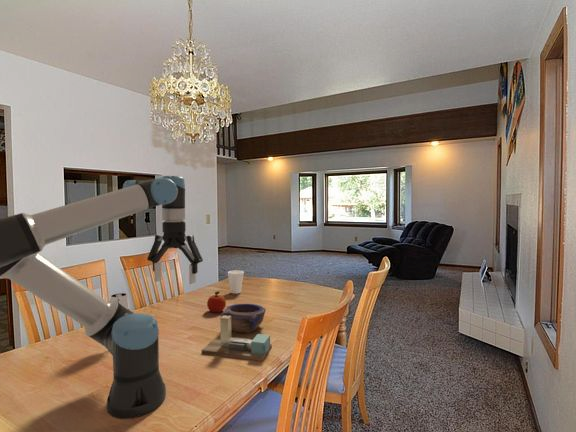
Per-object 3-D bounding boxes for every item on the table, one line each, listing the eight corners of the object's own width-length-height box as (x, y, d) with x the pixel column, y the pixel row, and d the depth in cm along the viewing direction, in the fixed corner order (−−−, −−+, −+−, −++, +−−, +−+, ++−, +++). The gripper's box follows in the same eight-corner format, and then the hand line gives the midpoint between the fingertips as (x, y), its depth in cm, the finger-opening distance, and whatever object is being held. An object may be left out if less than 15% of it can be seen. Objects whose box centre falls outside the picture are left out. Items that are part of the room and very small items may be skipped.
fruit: (203, 313, 162) (203, 294, 162) (212, 307, 172) (212, 289, 171) (221, 315, 160) (220, 295, 160) (228, 309, 169) (228, 290, 169)
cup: (247, 292, 201) (247, 271, 201) (236, 296, 193) (236, 274, 192) (235, 289, 207) (235, 269, 206) (224, 293, 198) (224, 272, 198)
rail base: (262, 360, 114) (262, 351, 114) (201, 353, 120) (201, 343, 120) (271, 347, 124) (271, 338, 124) (215, 340, 130) (215, 332, 130)
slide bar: (262, 351, 118) (262, 321, 118) (220, 346, 122) (220, 317, 122) (264, 348, 121) (264, 319, 120) (223, 343, 125) (223, 315, 124)
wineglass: (106, 350, 122) (105, 298, 121) (111, 341, 130) (110, 293, 129) (128, 348, 124) (127, 297, 123) (132, 339, 132) (131, 291, 131)
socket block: (264, 355, 116) (264, 343, 115) (251, 353, 117) (251, 341, 117) (270, 346, 122) (270, 335, 122) (257, 345, 124) (257, 333, 123)
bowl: (270, 323, 149) (270, 302, 148) (256, 339, 132) (256, 315, 131) (235, 319, 154) (234, 299, 153) (217, 334, 136) (216, 311, 136)
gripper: (212, 220, 111) (212, 281, 112) (150, 220, 117) (151, 277, 118) (201, 222, 104) (201, 286, 105) (135, 221, 110) (137, 282, 111)
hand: (175, 282), depth 111 cm, fingers open, 13 cm apart
